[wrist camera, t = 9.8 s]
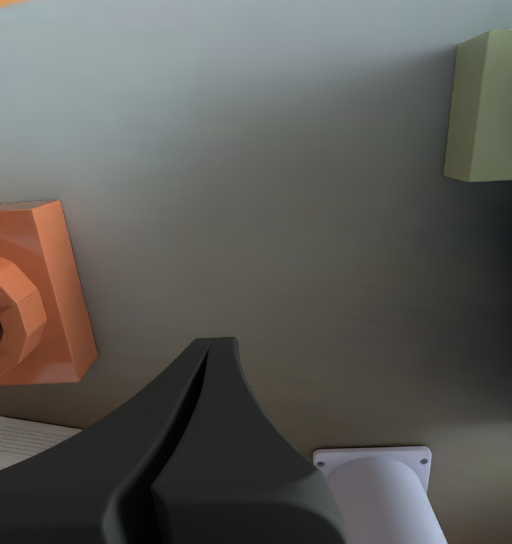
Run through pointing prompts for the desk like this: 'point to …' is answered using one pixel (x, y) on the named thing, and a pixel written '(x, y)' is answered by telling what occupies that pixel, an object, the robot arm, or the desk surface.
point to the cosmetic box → (28, 439)
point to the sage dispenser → (481, 110)
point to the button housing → (41, 298)
